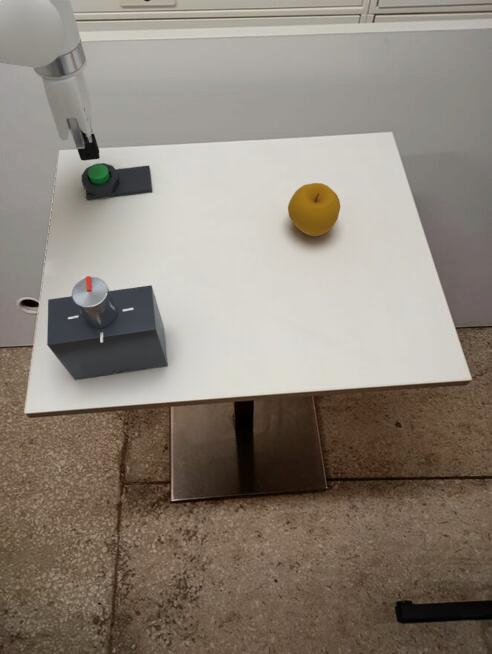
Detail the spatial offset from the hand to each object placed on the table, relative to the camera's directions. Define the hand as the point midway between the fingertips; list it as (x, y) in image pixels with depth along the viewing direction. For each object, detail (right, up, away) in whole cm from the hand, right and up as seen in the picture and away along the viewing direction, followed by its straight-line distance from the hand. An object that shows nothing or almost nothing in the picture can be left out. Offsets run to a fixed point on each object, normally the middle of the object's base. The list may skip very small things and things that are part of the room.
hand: (90, 156), depth 86 cm
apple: (+38, -12, +3) cm, 40 cm away
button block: (+3, -3, +7) cm, 8 cm away
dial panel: (+8, -33, -9) cm, 35 cm away
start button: (0, -2, +5) cm, 5 cm away
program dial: (+8, -28, -20) cm, 35 cm away
